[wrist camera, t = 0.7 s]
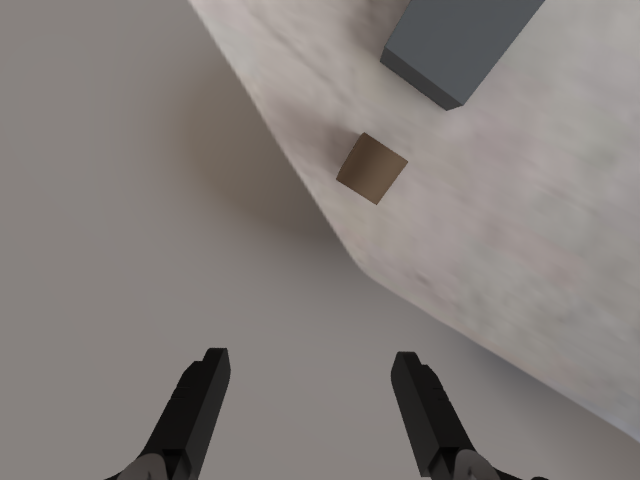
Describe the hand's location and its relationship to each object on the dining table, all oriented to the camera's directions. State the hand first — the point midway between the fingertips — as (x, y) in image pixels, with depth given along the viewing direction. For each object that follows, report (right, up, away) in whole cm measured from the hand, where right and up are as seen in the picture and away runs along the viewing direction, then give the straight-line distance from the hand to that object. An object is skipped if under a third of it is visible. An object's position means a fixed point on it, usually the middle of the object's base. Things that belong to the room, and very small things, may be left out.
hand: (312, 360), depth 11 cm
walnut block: (+7, +16, +21) cm, 27 cm away
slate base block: (+14, +28, +15) cm, 35 cm away
